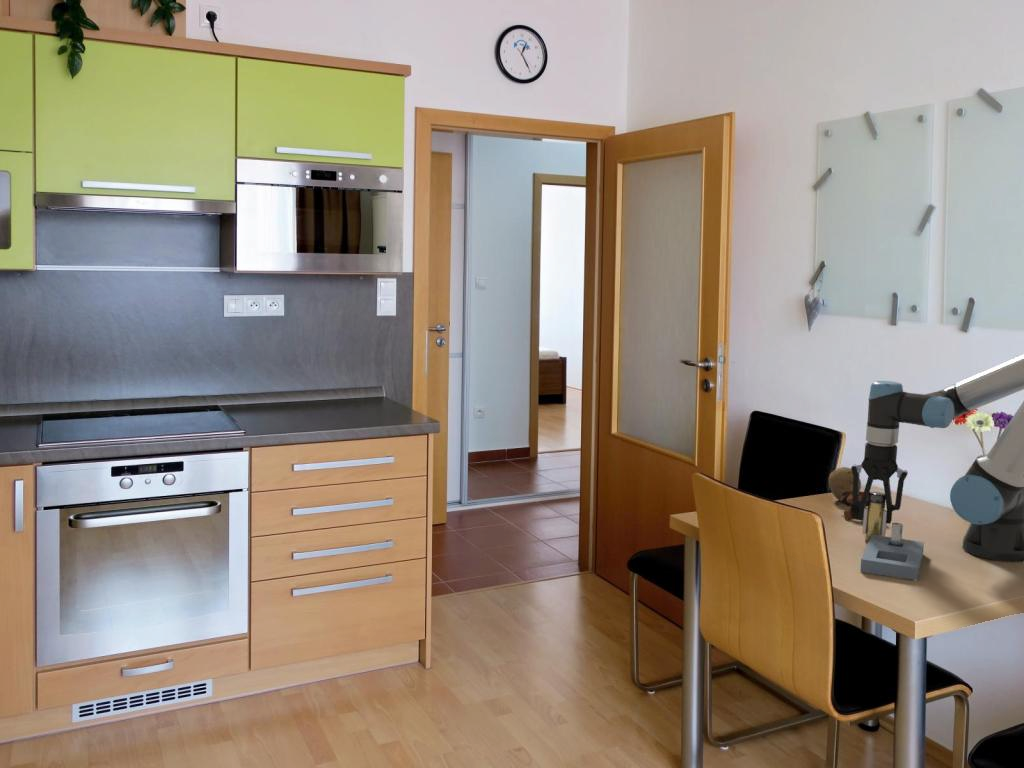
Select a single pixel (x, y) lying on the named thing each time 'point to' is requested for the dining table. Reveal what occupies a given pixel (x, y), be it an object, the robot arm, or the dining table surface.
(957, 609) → the dining table surface
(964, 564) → the dining table surface
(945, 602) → the dining table surface
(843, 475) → the natural sponge
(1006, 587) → the dining table surface
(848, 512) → the pottery mug
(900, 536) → the silver metal dowel pin
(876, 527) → the spice jar
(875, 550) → the block
